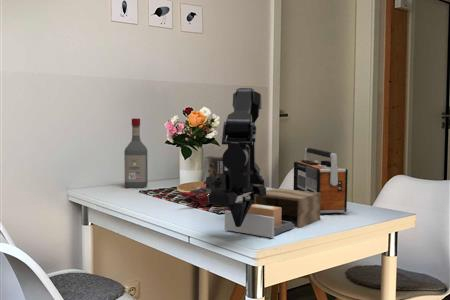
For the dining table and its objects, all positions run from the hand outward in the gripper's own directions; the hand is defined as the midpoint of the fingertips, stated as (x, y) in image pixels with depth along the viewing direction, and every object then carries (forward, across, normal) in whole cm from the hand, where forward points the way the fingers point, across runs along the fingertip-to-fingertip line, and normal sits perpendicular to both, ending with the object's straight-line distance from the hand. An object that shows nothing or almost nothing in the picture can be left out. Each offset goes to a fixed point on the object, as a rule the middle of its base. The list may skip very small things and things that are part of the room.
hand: (238, 226), depth 126 cm
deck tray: (+3, -12, 0) cm, 12 cm away
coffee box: (+3, -43, -38) cm, 58 cm away
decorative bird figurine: (+3, -27, -34) cm, 44 cm away
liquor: (+3, -47, -86) cm, 98 cm away
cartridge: (+2, -12, 0) cm, 13 cm away
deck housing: (+3, -27, 0) cm, 27 cm away
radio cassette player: (+3, -52, -2) cm, 53 cm away
